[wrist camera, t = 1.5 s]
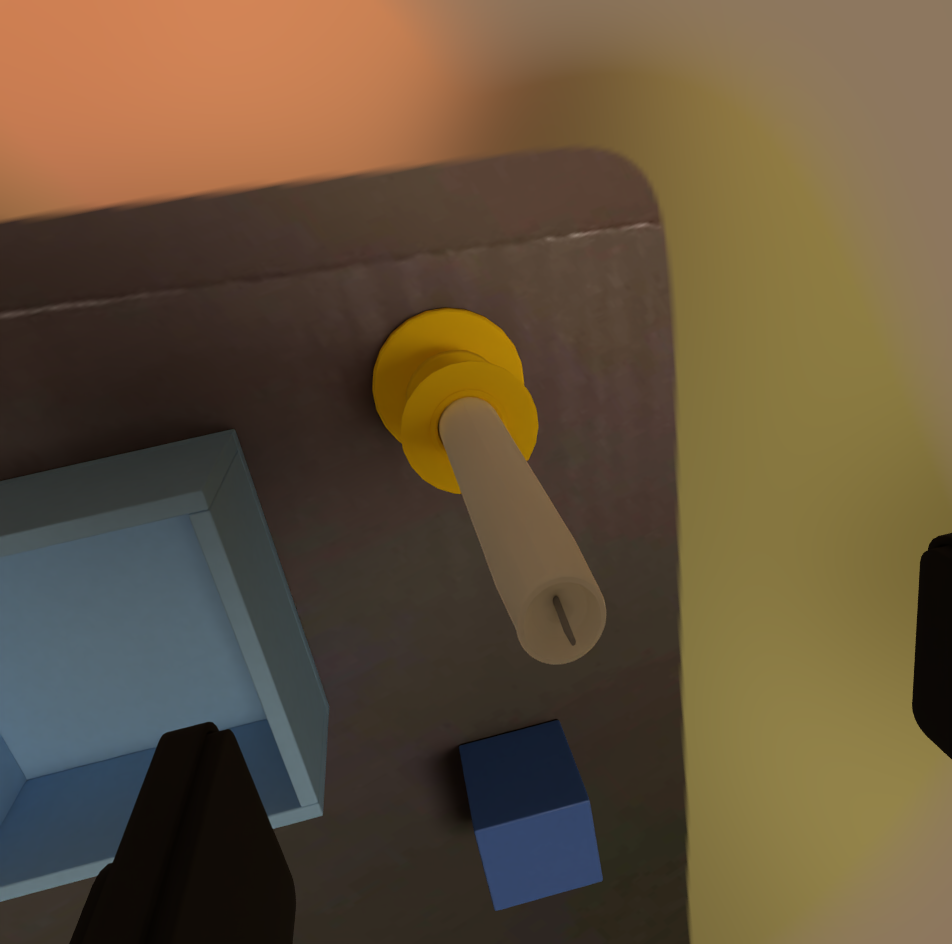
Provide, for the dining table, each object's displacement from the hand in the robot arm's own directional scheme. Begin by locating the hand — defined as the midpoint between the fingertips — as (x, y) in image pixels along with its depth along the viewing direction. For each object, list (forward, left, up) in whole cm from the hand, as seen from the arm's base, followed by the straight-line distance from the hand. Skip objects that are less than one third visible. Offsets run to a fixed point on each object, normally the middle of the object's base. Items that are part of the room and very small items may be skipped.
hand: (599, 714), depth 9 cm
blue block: (+18, 0, -17) cm, 24 cm away
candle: (0, 0, -17) cm, 17 cm away
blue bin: (+6, -13, -17) cm, 22 cm away
